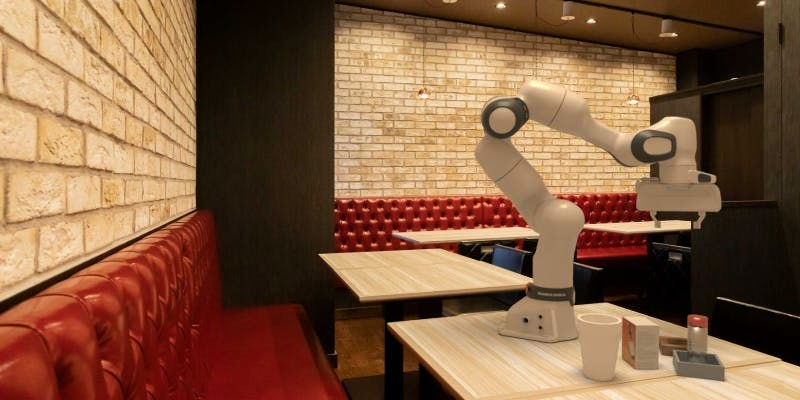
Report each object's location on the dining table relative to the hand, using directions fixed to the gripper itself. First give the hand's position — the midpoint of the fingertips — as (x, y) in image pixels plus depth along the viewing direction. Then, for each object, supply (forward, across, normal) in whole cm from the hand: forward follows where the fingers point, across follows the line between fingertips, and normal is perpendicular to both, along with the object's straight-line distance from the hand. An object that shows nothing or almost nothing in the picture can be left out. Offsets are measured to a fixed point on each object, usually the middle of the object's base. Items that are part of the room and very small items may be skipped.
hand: (677, 228), depth 141 cm
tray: (+31, +2, -23) cm, 39 cm away
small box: (+31, -10, -22) cm, 40 cm away
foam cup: (+31, -19, -34) cm, 50 cm away
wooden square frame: (+31, 0, -9) cm, 32 cm away
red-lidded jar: (+30, +2, -23) cm, 38 cm away
